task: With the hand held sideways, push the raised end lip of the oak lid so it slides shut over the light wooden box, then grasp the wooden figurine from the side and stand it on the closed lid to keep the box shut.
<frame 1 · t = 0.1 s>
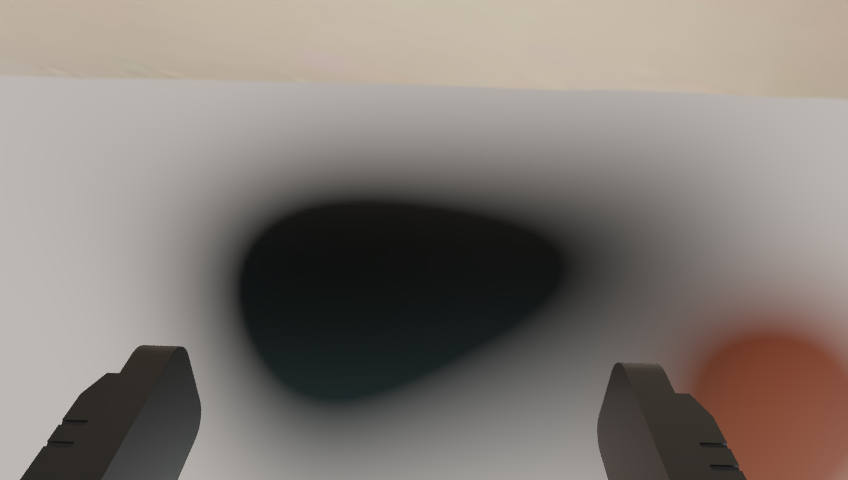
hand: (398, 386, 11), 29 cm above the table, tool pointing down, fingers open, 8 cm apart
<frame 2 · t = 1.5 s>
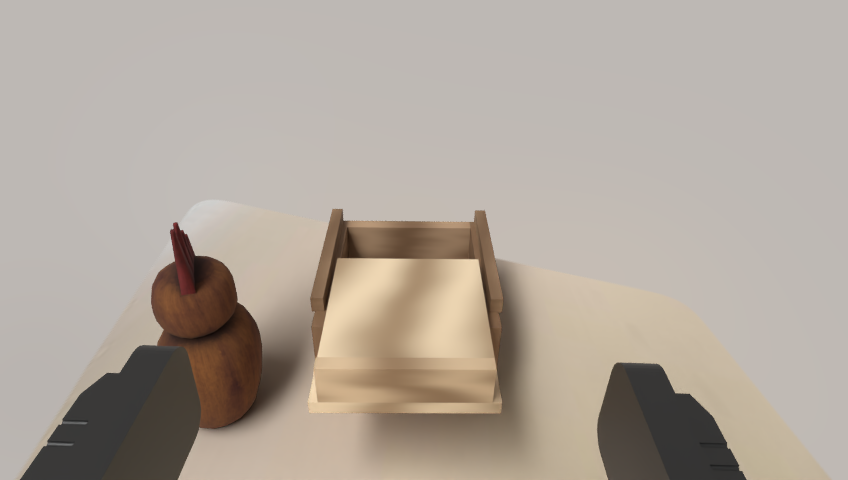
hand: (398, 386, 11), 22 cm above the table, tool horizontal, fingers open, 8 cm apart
wooden figurine: (223, 405, 38), on the table
lid: (406, 309, 34), point 8 cm above the table, slide at 7.0 cm
light wooden box: (407, 334, 44), on the table
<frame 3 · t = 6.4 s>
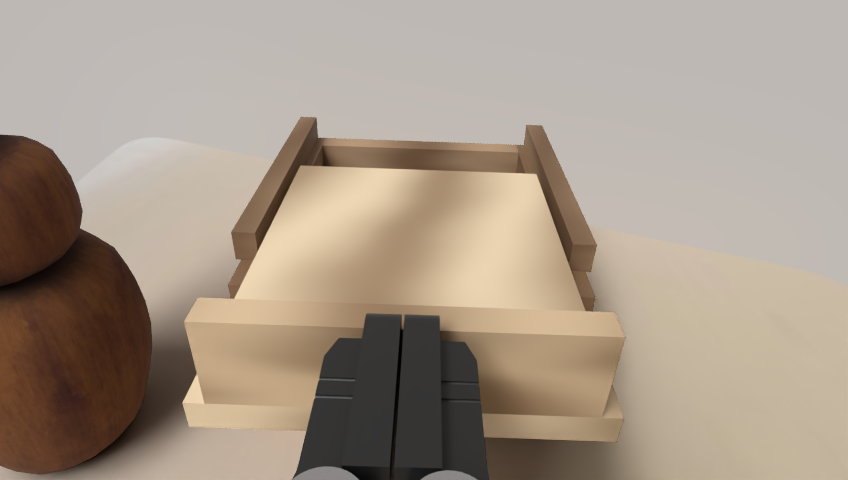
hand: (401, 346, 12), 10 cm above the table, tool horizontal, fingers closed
wooden figurine: (80, 428, 21), on the table
lid: (413, 232, 18), point 8 cm above the table, slide at 5.9 cm, touching gripper
light wooden box: (414, 317, 27), on the table
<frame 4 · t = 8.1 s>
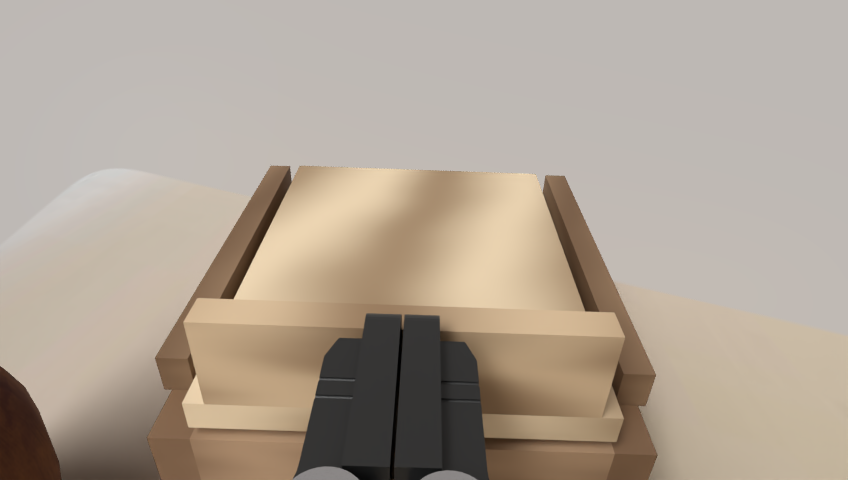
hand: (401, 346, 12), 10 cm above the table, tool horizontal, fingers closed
lid: (413, 232, 18), point 8 cm above the table, slide at -0.1 cm, touching gripper
light wooden box: (408, 416, 22), on the table
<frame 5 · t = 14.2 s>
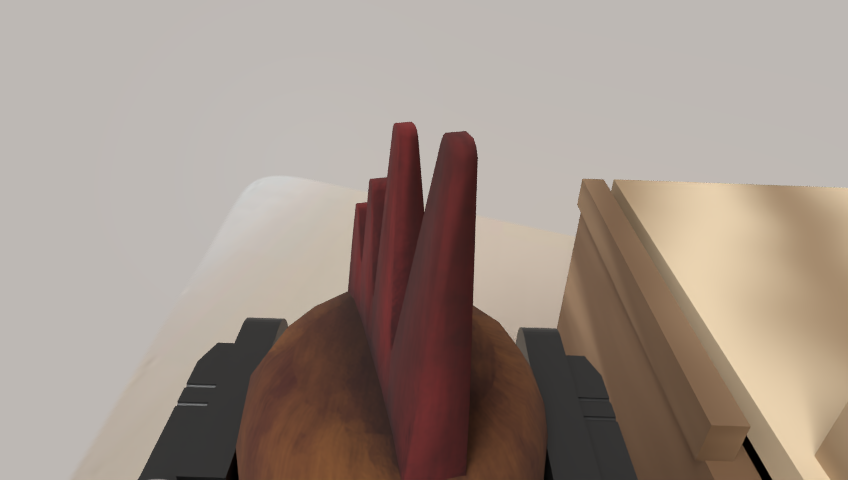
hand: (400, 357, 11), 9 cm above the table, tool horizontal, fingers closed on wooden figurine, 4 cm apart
light wooden box: (761, 462, 20), on the table
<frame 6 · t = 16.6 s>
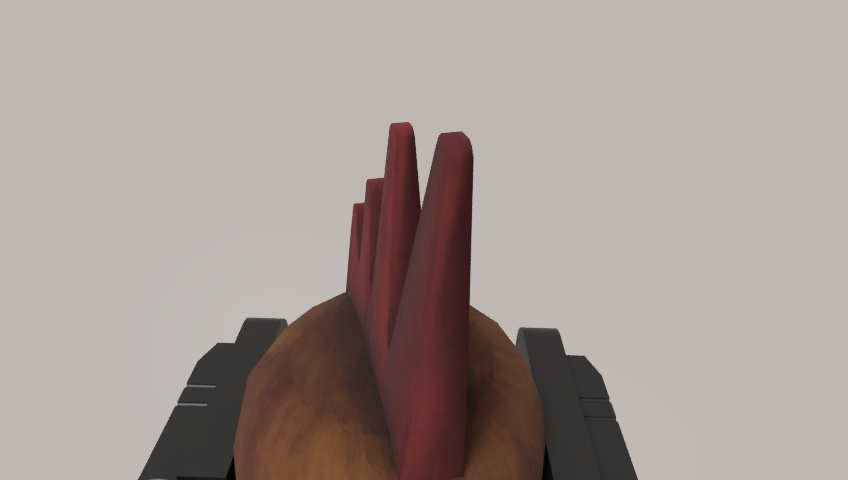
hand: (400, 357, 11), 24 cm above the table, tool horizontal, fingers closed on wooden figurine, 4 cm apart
when the fingers open (17 cm above the table, at t = 19.4 s): wooden figurine stays where it is, resting on lid.
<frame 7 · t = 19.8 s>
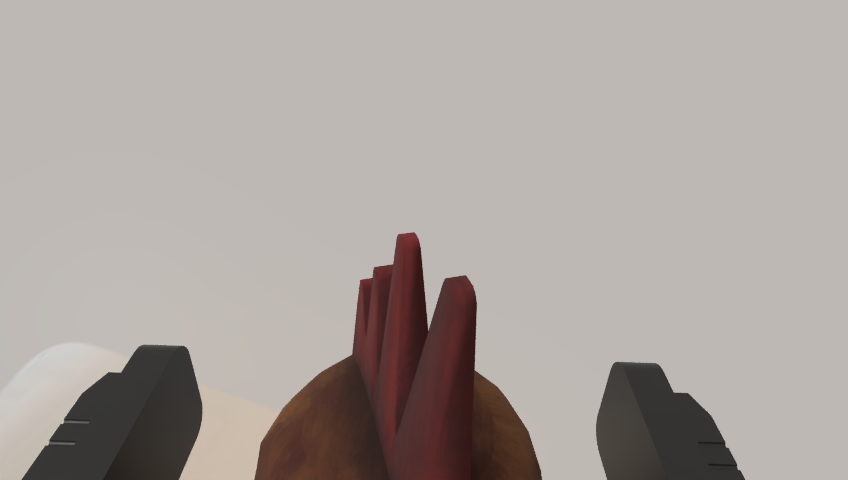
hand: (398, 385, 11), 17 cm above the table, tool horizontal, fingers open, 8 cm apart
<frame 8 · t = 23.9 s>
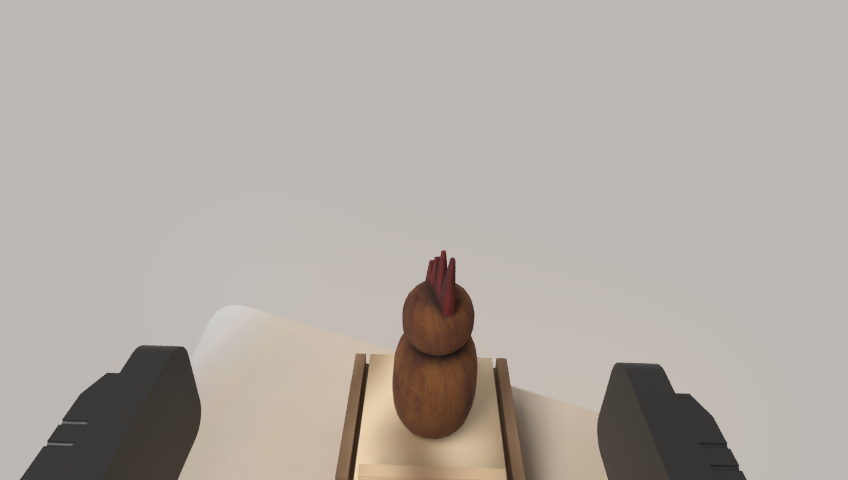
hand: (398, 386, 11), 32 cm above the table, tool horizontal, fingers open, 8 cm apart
wooden figurine: (432, 417, 41), point 7 cm above the table, touching lid
lid: (431, 411, 40), point 8 cm above the table, slide at 0.0 cm, touching wooden figurine
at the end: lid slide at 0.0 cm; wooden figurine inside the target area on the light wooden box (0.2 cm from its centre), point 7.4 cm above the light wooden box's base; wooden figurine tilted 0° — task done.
